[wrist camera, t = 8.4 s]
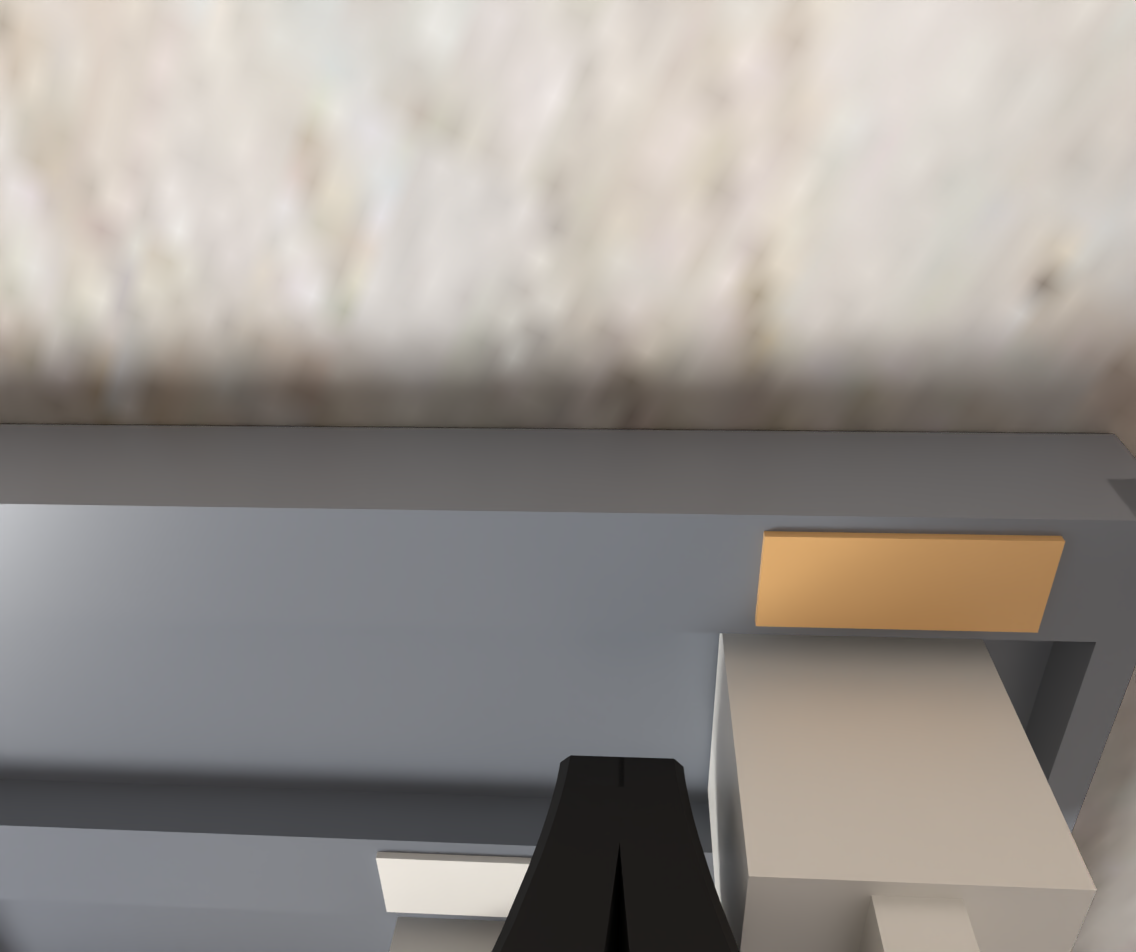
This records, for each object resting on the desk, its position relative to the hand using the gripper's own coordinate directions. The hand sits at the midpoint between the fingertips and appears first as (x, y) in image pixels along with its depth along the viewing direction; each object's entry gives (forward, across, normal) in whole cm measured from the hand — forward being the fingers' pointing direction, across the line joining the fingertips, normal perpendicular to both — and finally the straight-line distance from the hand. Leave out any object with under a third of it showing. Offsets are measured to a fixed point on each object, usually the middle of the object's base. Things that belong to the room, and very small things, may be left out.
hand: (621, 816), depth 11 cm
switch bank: (+3, +3, +6) cm, 7 cm away
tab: (+2, -3, 0) cm, 3 cm away
